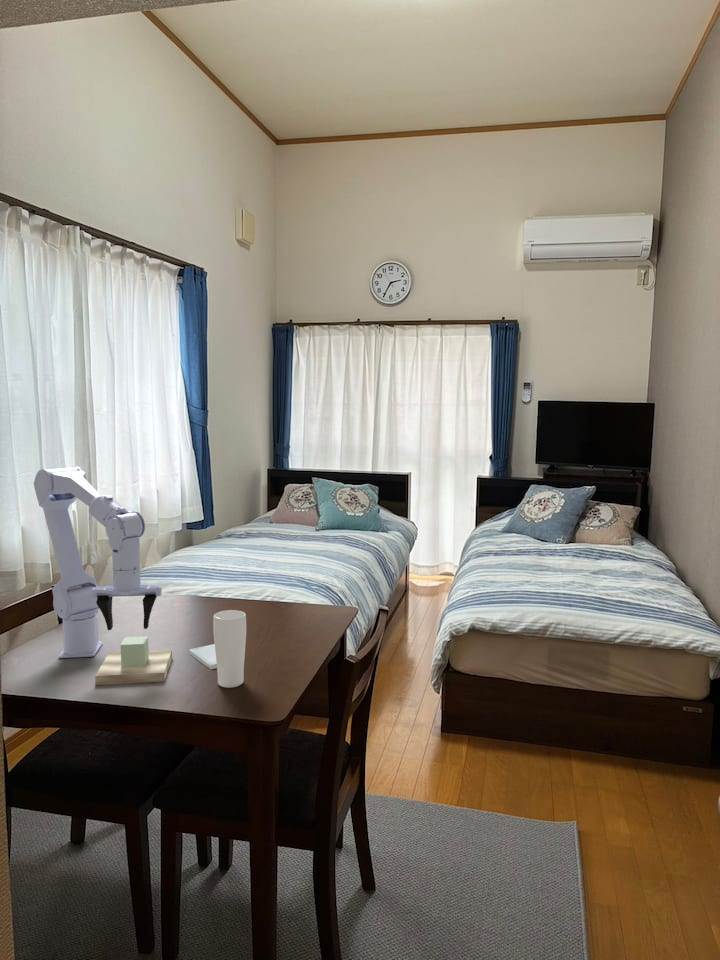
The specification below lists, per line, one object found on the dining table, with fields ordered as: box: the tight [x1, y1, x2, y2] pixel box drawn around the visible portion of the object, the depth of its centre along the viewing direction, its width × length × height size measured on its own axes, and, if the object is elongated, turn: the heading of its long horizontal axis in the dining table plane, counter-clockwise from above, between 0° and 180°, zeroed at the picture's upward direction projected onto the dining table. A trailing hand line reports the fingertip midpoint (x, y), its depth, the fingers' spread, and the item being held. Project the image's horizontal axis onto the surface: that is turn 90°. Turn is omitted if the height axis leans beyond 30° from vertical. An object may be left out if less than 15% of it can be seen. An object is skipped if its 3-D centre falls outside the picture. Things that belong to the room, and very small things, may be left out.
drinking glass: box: [212, 609, 247, 689], centre depth 146 cm, size 7×7×15 cm
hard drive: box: [188, 643, 217, 670], centre depth 163 cm, size 2×8×12 cm
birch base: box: [94, 649, 173, 686], centre depth 154 cm, size 14×14×2 cm
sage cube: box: [120, 635, 150, 667], centre depth 153 cm, size 5×5×5 cm
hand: (128, 628), depth 154 cm, fingers open, 7 cm apart
